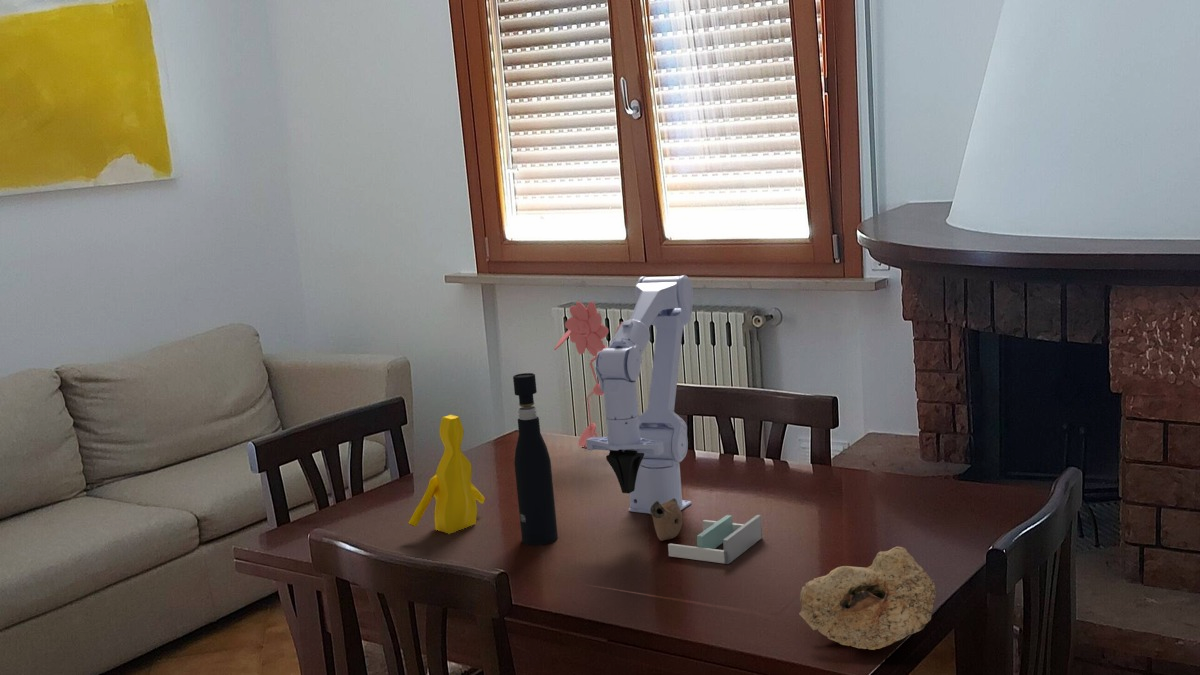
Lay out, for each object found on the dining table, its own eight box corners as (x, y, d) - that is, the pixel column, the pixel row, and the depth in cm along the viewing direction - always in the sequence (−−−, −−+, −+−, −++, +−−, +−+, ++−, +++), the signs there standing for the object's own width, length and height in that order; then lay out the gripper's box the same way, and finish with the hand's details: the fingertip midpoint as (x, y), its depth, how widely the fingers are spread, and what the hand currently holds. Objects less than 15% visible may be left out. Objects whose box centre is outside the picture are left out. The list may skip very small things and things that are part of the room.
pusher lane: (668, 556, 194) (667, 533, 193) (705, 530, 205) (703, 508, 204) (728, 564, 188) (726, 540, 187) (762, 537, 199) (761, 515, 198)
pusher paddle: (698, 556, 192) (696, 535, 191) (728, 534, 201) (726, 514, 201) (703, 556, 191) (702, 536, 191) (733, 534, 201) (732, 515, 200)
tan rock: (854, 697, 153) (843, 657, 149) (795, 632, 165) (784, 594, 161) (965, 630, 157) (957, 589, 153) (899, 571, 169) (891, 532, 165)
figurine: (579, 441, 275) (566, 294, 269) (659, 456, 256) (647, 298, 250) (530, 457, 264) (515, 305, 259) (609, 473, 246) (595, 309, 240)
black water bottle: (563, 534, 209) (547, 371, 204) (550, 546, 203) (534, 378, 198) (530, 533, 211) (514, 371, 207) (516, 545, 205) (499, 379, 201)
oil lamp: (665, 550, 197) (662, 505, 195) (644, 548, 199) (641, 503, 197) (688, 533, 204) (685, 489, 203) (668, 531, 206) (664, 487, 205)
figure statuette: (479, 513, 226) (467, 402, 223) (505, 519, 221) (493, 406, 217) (404, 539, 214) (390, 423, 210) (429, 547, 208) (416, 428, 205)
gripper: (574, 419, 202) (581, 494, 204) (646, 423, 194) (653, 502, 196) (596, 409, 208) (602, 483, 210) (667, 414, 200) (673, 490, 202)
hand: (628, 491), depth 204 cm, fingers closed
